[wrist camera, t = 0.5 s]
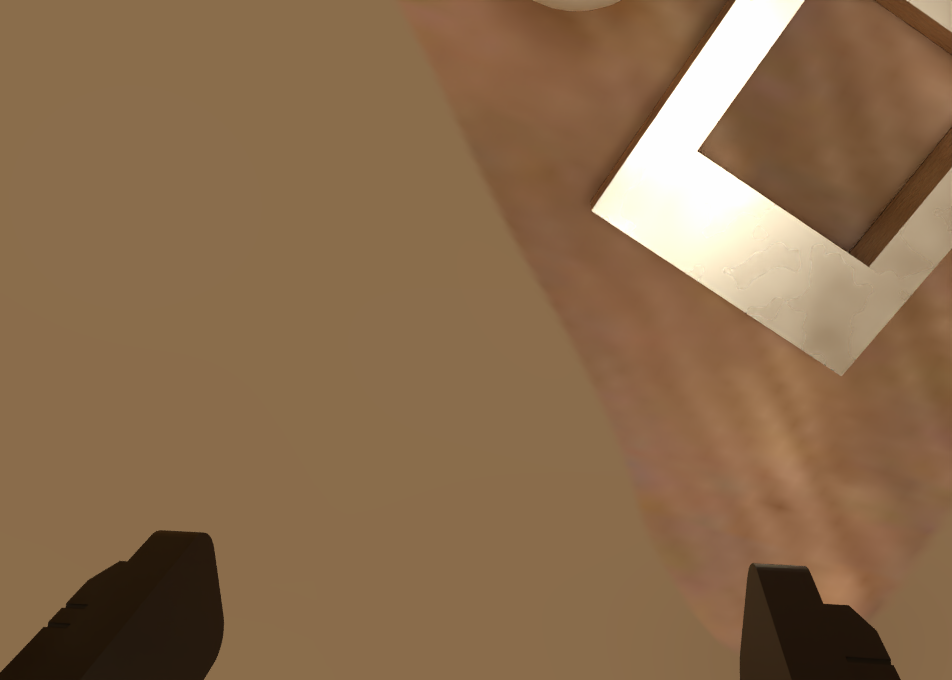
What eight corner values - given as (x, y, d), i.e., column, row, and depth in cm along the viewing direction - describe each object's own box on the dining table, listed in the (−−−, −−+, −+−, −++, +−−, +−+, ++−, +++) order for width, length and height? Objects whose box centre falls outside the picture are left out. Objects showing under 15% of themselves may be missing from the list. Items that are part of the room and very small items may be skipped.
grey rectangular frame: (847, -175, 30) (870, -196, 28) (1111, 15, 31) (1155, 11, 29) (590, 201, 35) (591, 210, 33) (824, 356, 36) (841, 376, 34)
